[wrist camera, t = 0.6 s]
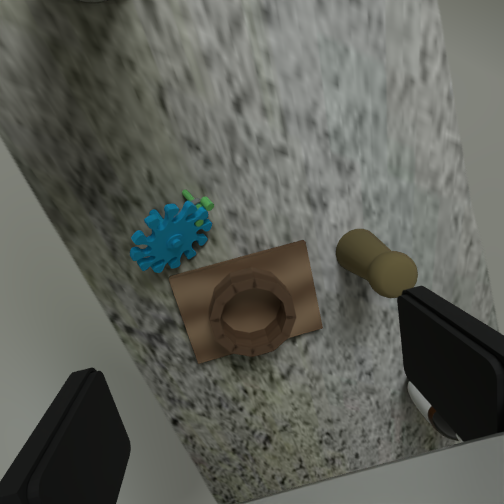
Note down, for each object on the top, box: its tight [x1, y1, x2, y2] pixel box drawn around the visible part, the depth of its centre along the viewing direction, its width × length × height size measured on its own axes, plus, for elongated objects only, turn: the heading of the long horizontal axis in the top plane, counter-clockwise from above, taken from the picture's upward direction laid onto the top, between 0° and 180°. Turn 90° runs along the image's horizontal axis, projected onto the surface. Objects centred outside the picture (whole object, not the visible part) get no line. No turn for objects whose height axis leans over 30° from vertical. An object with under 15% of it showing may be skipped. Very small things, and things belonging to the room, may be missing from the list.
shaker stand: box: [169, 240, 323, 364], centre depth 44 cm, size 13×18×5 cm
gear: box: [130, 190, 214, 273], centre depth 40 cm, size 11×6×10 cm
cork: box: [336, 229, 418, 298], centre depth 41 cm, size 6×6×11 cm
